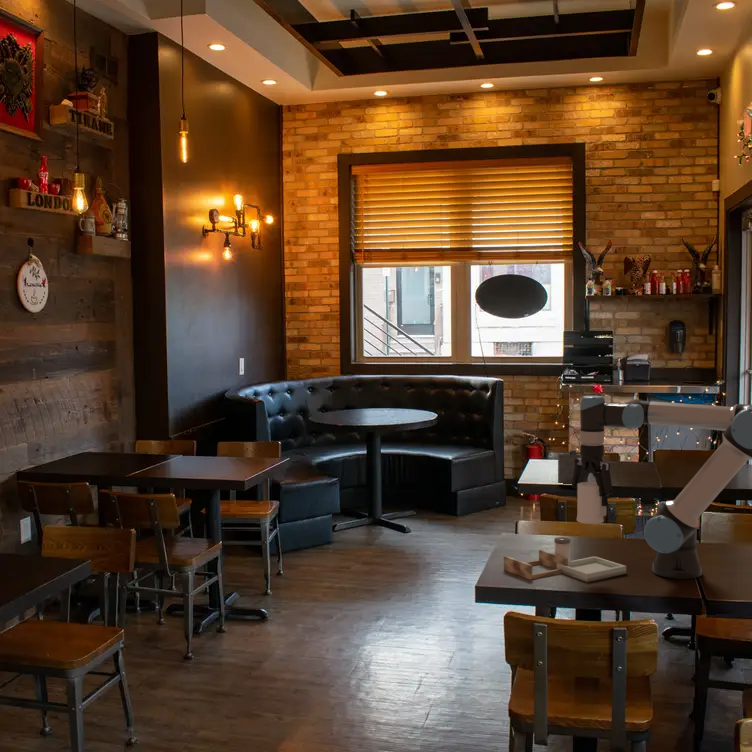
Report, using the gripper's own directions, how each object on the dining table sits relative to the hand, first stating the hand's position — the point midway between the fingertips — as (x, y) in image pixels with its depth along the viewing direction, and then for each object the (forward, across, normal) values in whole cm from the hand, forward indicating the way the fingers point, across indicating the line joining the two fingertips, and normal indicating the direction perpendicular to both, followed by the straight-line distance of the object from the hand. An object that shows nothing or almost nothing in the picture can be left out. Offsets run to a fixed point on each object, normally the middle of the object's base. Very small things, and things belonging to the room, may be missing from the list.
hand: (591, 513), depth 291 cm
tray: (+20, 0, 0) cm, 20 cm away
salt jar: (+20, +11, +2) cm, 23 cm away
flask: (+20, +114, -98) cm, 152 cm away
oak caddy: (+20, +11, +14) cm, 26 cm away
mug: (+3, +1, 0) cm, 3 cm away
